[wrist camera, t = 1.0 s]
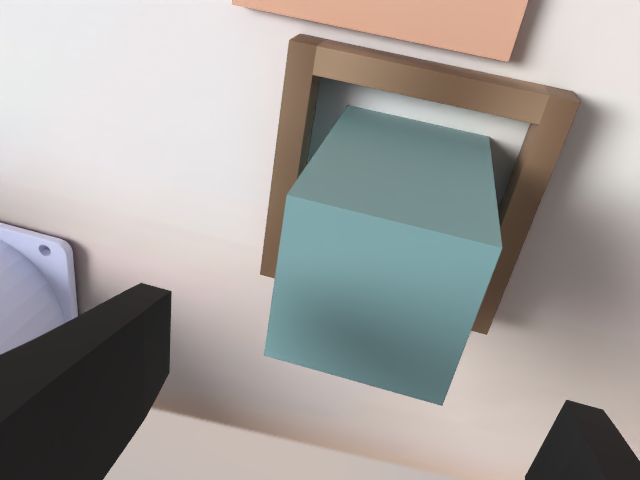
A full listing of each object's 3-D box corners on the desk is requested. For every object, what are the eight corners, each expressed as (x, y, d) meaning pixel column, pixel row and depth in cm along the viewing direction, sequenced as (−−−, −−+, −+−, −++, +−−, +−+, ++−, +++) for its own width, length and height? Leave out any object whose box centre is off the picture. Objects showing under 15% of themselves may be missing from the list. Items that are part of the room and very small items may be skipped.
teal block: (325, 226, 20) (264, 355, 14) (347, 105, 17) (287, 194, 11) (449, 257, 19) (442, 405, 13) (488, 136, 17) (502, 248, 11)
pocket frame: (270, 257, 21) (260, 274, 20) (300, 33, 17) (289, 40, 16) (485, 313, 20) (486, 334, 19) (572, 91, 16) (580, 102, 15)
